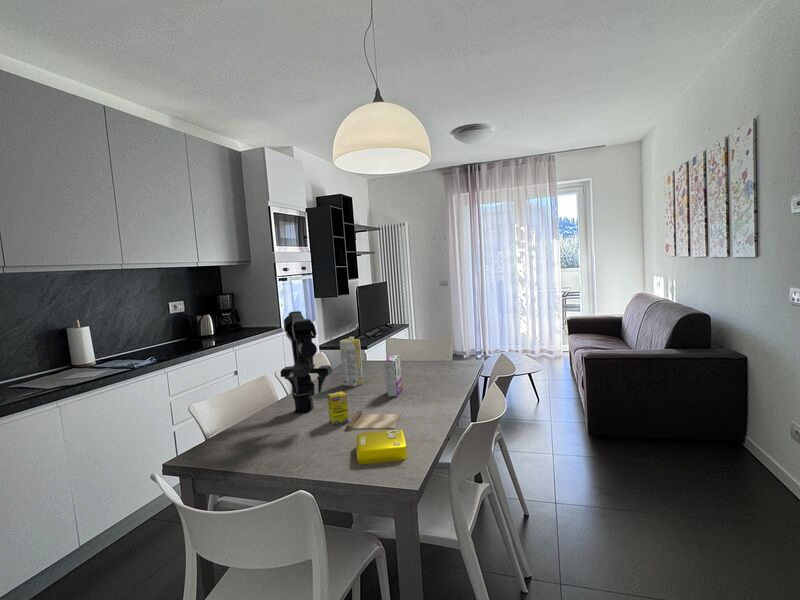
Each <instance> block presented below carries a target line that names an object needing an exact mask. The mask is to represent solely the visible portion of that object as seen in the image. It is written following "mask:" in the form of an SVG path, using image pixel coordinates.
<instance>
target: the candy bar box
mask: <svg viewBox="0 0 800 600" xmlns="http://www.w3.org/2000/svg"><path fill="white" fill-rule="evenodd" d="M384 369H385V379H386V381H385V382H386V389H387V390H386V392H387V393H386V394H387V398H388V397H389V398H391V397H393V398H394V397H395V398H397V397H399V395H400V393H402V390H403V382H402V381H403V379H402V367H401V356H400V354H397V355H395V354H394V355H392V354H391V355H389V356H388V358H387V359H386V360H384Z"/></svg>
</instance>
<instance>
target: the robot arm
mask: <svg viewBox="0 0 800 600" xmlns="http://www.w3.org/2000/svg"><path fill="white" fill-rule="evenodd" d="M283 330H284V332H285V334H286V337H287V338H288V339H289V341H290V342H291V350H292V357H293V364H294V365H293V366H285V367H284V368H282V369H281V370H280V372H279V373H280V378H284V380H287V381H288V382H289V383H290V385H291V397H292V400H294V408H295V409H294V411H293V413H295V414H296V413H299V414H300V413H302V414H304V413H310V412H311V411H312V410H313V409H314V407H315V406H314V400H313V397H312V396H314V395H315V383H314V382H313V381H314V380H313V381H312V378H311V374H317V375H318V376H317V377H316V379H317V381H318V383H317V384H318V386H317V387H318V394H321V393H322V389H323V386H324V383H325V381H326V378H327V377H328V376H330V375H331V374H332V373H333V368H332V366H331V364H330V365H329V364H327V365H320V366H319V367H317V368H315V367H316V365H315V363H314V357H315V356H316V353H317V352H318V348H317V345H316V344H315V343H314V342H313V339H316V338H317V334H318V333H317V329H316V326H315V324H314V322H313V321H312V320H311V319H309V318H305V317H304V316H303V314H302V311H300V310H298V311H295V310H294V311H290V312H288V315H287V316H286V317H285V318H284V319H283Z"/></svg>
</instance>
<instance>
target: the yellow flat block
mask: <svg viewBox="0 0 800 600" xmlns="http://www.w3.org/2000/svg"><path fill="white" fill-rule="evenodd" d="M356 458H357V459H356V460H357V463H358V464H360V465H370V464H378V463H379V464H380V463H389V462H399V461H404V460H406V459H407V458H408V450H407V442H406V438H405V434H404V431H403V430H402V429H386V430H377V431H367V432H360V433H358V434H357V436H356Z"/></svg>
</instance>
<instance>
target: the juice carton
mask: <svg viewBox="0 0 800 600" xmlns="http://www.w3.org/2000/svg"><path fill="white" fill-rule="evenodd" d="M339 349H340V350H339V351H340V362H341V363H340V364H341V375H342V378H341V379H342V384H343V386H349V387H357V386H360V385H362V384H363V377H364V376H363V366H362V365H363V363H362V352H361V351H362V350H361V341H360V338H355V336H349V337H348V338H345V339H341V340H339Z"/></svg>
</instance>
